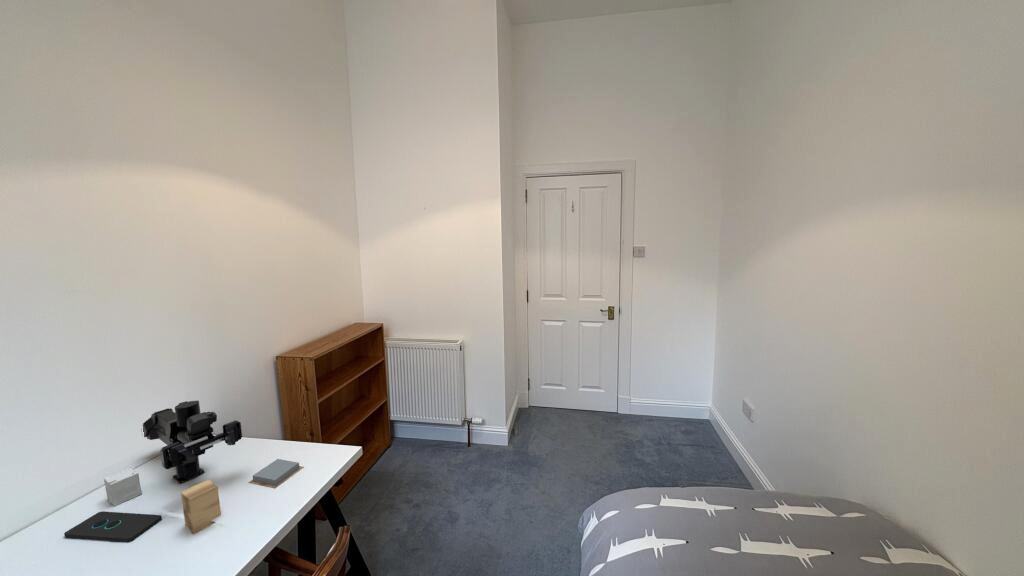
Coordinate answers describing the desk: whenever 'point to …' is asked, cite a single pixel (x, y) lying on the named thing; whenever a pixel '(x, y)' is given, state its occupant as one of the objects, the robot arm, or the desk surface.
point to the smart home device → (113, 526)
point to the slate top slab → (276, 472)
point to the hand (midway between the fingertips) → (216, 450)
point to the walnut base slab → (277, 484)
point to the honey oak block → (200, 505)
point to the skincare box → (122, 486)
